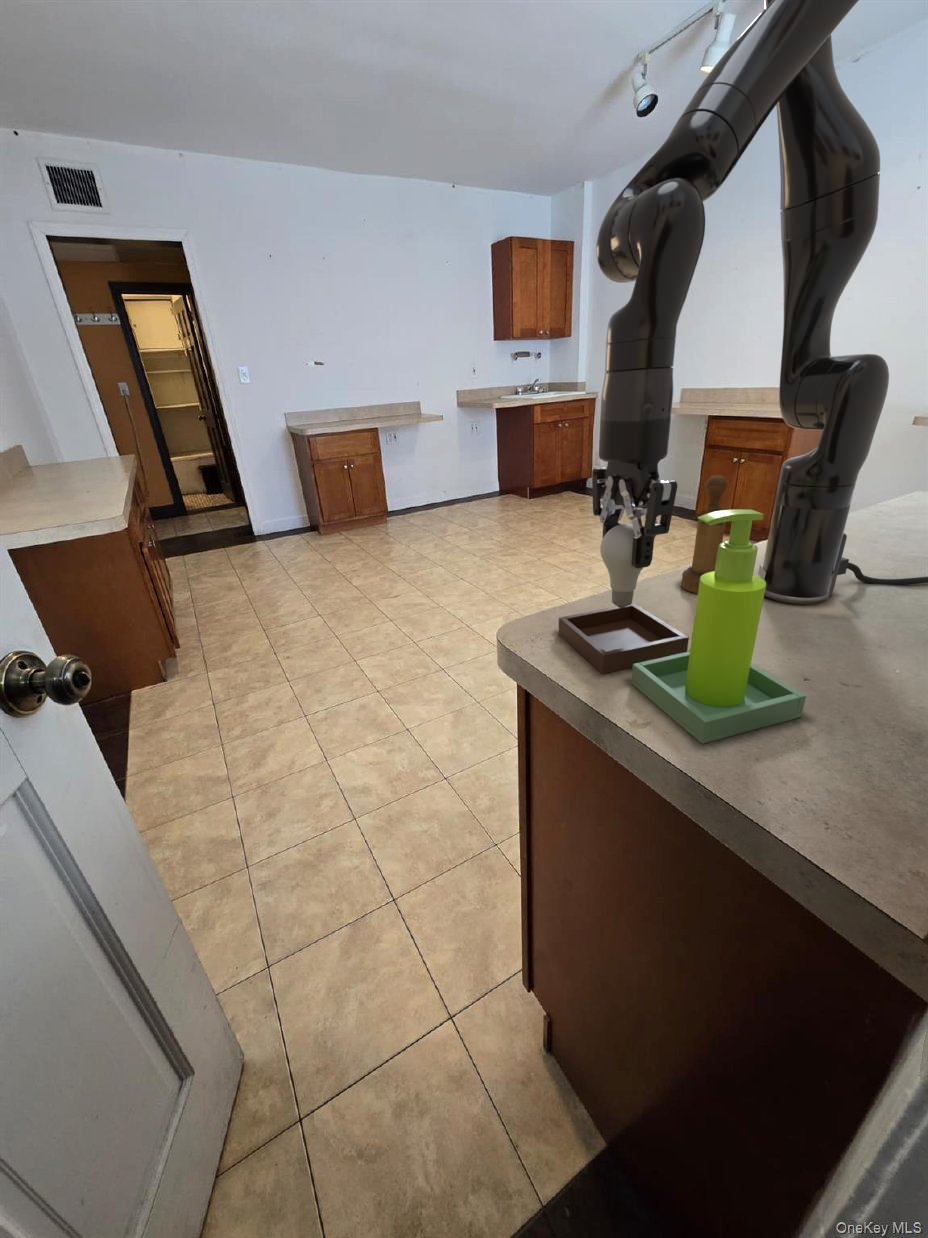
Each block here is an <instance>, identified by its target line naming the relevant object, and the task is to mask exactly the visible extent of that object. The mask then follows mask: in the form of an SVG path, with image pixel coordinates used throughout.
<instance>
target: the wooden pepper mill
mask: <svg viewBox="0 0 928 1238" xmlns="http://www.w3.org/2000/svg"><path fill="white" fill-rule="evenodd" d="M727 489H728V480H727V479H726V477H725V476H723V475H711V476H710V477H708V479H707V480H706V481H705V485H704V490H705V491H706V494H707V496H708V502H707V504H706V505H705V508H704V509H705V514H708V513H711V512H716V511H721V510H722V507H723V506H722V505H721V504H720V501H721V497H722V496H723V495H724V493H725V492H726V490H727ZM726 523H727V522H722V523H718V524H715V525H711V526H710V525H708V524H706V523H703V522H701V521H700V520H699V519H698V520H697V524H696V532H695V533H696V534H695V542H694V549H693V556H692V561H691V566H689V567H688V568H687V569H685V570H683V572H682V575H681V581H680V584H681V585H680V586H681V588H682V589H683V590H685V591H686V592H687V591H688V592H690V593H693V594H698V589H699V582H700V577H701V576H702V575H703V574H705V573H708V572H713V571H715V566H716V560H717V553H718V547H719V544H721V543H723V542H724V541H723V540H724V536H725V535H724V534H725V530H726V525H727V524H726Z"/></svg>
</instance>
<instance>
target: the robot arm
mask: <svg viewBox="0 0 928 1238" xmlns="http://www.w3.org/2000/svg"><path fill="white" fill-rule="evenodd" d="M859 1H860V0H764V9H763V10H762V11H761V12H760V13H759V14H758V15H757V17H756V18H755V19H754V20H753V21H752V22H751V23H750V25H749V26H748V27H746V29H745V30H744V31H743V32H742V34H741V35H740V36H739V37H738V38H737V39H736V40H735V41H734V42H733V44H732V45H731V46H730V47H729V48H728V49H727V51H726V52H725V53H724V54H723V55H722V57H720V59H719V60H718V61H717V63H716V64H715V65H714V67H713V68H712V69H711V71H710V72H709V73H708V74H707V76H706V77H705V79H704V80H703V81H702V83H701V84H700V86H699V87H698V89H697V90H696V91H695V93H694V94H693V96H692V97H691V99H690V101H689V102H688V104H687V105H686V106H685V108H684V110H683V112H682V113H681V115H680V117H678V120H677V121H676V123H675V125H674V126H673V127H672V129H671V131H670V132H669V134H668V136H667V138H666V140H665V141H664V142H663V143H662V145H661V146H660V147H659V148H658V149H657V150H656V151H655V152H654V154H653V155H652V156H650V158H649V159H648V160H647V161H646V162H645V163H644V165H643V166H642V167H641V168H640V169H639V170H638V171H637V173H636V174H635V175H634V176H633V177H632V178H631V180H629V182H628V183H627V184H626V186H624V188H623V189H622V190H621V192H620V193H619V194H618V195H617V196H616V198H615V199H614V200H613V202H612V203H611V204H610V207H609V208H608V210H607V212H606V213H605V215H604V217H603V219H602V220H601V224H600V227H599V229H598V234H597V237H596V244H595V255H596V260H597V261H596V262H597V264H598V267H599V270H600V272H602V274H603V275H604V277H606V278H607V279H609V280H610V281H612V282H614V283H615V282H616V283H619V284H621V283H622V284H626V283H627V284H628V283H632V282H634V285H633V289H632V293H631V295H630V298H629V300H628V301H627V302H626V303H625V305H624V306H622V307H621V308H619V309H617V310H616V311H615V312H614V313H613V314H612V315H611V316H610V317H609V320H608V323H607V329H606V338H605V339H606V340H605V359H604V375H603V384H602V389H601V396H600V413H599V415H600V417H599V418H600V420H599V437H598V438H599V440H598V459H600V460H601V461H602V462H606V463H607V465H606V466H602V467H597V468H595V467H594V468H593V469H592V470H591V481H592V483H591V484H592V485H591V486H592V488H591V489H592V512H593V513H592V514H593V516H594V517H597V516H598V517H599V521H600V523H601V524H602V536H601V537H602V539H603V537H604V536H605V535H606V533H607V532H608V531H609V530H610V529H612V528H613V527H615V526H617V525H620V524H622V523H621V520H622V518H623V515H624V513H625V514H626V517H627V519H628V520H630V521H631V524H632V525H633V530H634V535H635V537H634V538H633V551H632V566H633V567H635V568H643V569H644V568H649V567H650V566H651V564H652V563H653V562H652V561H653V556H654V545H655V538H656V537H657V536H660V535H665V534H668V533H669V531H670V527H671V522H672V516H673V513H674V512H673V511H674V506H675V501H676V496H677V491H678V482H677V481H676V480H663V479H661V478H660V473H659V463H660V462H661V460H663V459H665V458H666V457H667V455H668V454H669V453H668V452H669V444H670V443H669V441H670V431H671V421H672V412H673V401H674V362H675V352H676V344H677V343H676V342H677V340H676V339H677V334H678V333H677V332H678V331H677V330H678V323H679V320H680V317H681V314H682V311H683V308H684V306H685V302H686V300H687V298H688V293H689V290H690V287H691V284H692V282H693V278H694V274H695V272H696V269H697V265H698V263H699V260H700V256H701V253H702V249H703V244H704V239H705V235H706V210H705V204H704V202H706V200H708V199H710V198H711V197H712V196H713V195H715V194H716V193H717V192H718V191H719V189H721V187H722V186H723V185H724V184H725V182H726V181H727V179H728V178H729V177H730V175H731V173H732V172H733V171H734V169H735V168H736V166H737V165H738V163H739V161H740V160H741V158H742V157H743V155H744V154H745V152H746V151H747V149H748V148H749V146H750V144H751V143H752V142H753V140H754V139H755V137H756V135H757V134H758V132H759V131H760V129H761V128H762V126H763V124H764V123H765V121H766V120H767V118H768V117H769V116H770V114H771V113H772V111H773V109H774V108H775V107H776V117H777V134H778V135H777V136H778V150H779V151H778V153H779V154H778V155H779V176H780V177H779V178H780V193H779V194H780V198H779V199H780V201H779V202H780V203H779V209H780V210H781V211H779V212H780V214H779V215H780V240H781V254H782V257H781V258H782V272H783V273H782V275H783V276H782V277H783V329H782V345H781V359H780V371H779V372H780V374H779V389H778V394H779V395H778V396H779V397H778V400H779V401H778V403H779V409H780V414H781V418H782V419H783V421H784V423H785V424H786V425H787V426H788V427H790V428H791V429H792V428H793V429H796V430H803V431H817V432H818V431H819V432H820V431H821V435H820V438H819V441H818V443H817V445H816V447H815V448H814V449H812V450H811V451H808V452H807V453H805V454H801V455H798V456H793V457H790V458H787V459H786V460H785V461H784V462H783V463H782V465H781V468H780V471H779V477H778V482H777V488H776V493H775V494H776V495H775V499H774V505H773V509H772V514H771V521H770V526H769V531H768V536H767V541H766V548H765V551H764V552H765V553H764V558H763V563H762V565H761V564H759V566H758V571H757V572H758V576H759V577H760V578H762V579H763V580H764V581H765V582H766V588H765V594H764V597H765V598H768V599H771V600H773V601H777V602H781V603H785V604H786V603H787V604H792V605H793V604H794V605H815V604H816V605H817V604H821V603H824V602H826V601H827V600H828V599H829V597H830V596H832V595H833V594H834V590H835V585H836V582H837V578H838V576H841V575H845V574H846V573H847V570H849V571H852V573H853V574H854V576H855V578H856V579H857V580H858V581H860V582H863V583H867V584H872V585H887V586H888V585H890V586H903V585H916V584H917V585H918V584H927V583H928V576H919V577H905V578H876V577H872V576H871V577H870V576H868V575H865V574H863V572H862V570H861V568H860V567H859V566H858V565H856V564H855V563H852V562H850V559H849V558H846V557H843V554H844V551H845V547H846V542H847V539H848V535H847V534H846V533H845V529H846V526H847V521H848V516H849V513H850V509H851V504H852V500H853V497H854V493H855V487H856V485H857V480H858V477H859V474H860V472H861V470H862V468H863V466H864V464H865V462H866V460H867V459H868V456H869V453H870V451H871V446H872V443H873V440H874V436H875V433H876V430H877V426H878V424H879V421H880V418H881V415H882V412H883V408H884V405H885V403H886V402H885V401H886V400H887V399H886V398H887V394H888V390H889V385H890V373H889V372H890V371H889V366H888V364H887V363H888V362H886V360H885V358H884V357H882V356H881V355H879V354H874V353H860V354H845V355H831V354H832V353H831V336H832V335H831V334H832V325H833V318H834V314H835V311H836V309H837V305H838V303H839V300H840V299H841V296H842V294H843V292H844V290H845V288H846V287H847V285H848V283H849V282H850V280H851V278H852V276H853V275H854V273H855V271H856V269H857V267H858V266H859V264H860V262H861V260H862V258H863V257H864V255H865V252H866V251H867V249H868V247H869V245H870V243H871V240H872V238H873V236H874V233H875V230H876V227H877V224H878V215H879V205H880V204H879V202H880V201H879V200H880V182H881V181H880V179H881V173H880V171H881V153H880V148H879V144H878V143H877V139H876V137H875V135H874V134H873V132H872V130H871V129H870V127H869V125H868V124H867V122H866V121H865V119H864V118H863V116H862V115H861V114H860V112H859V110H857V108H856V107H855V105H854V104H853V103H852V102H851V100H850V99H849V97H848V96H847V94H846V93H845V91H844V90H843V87H842V85H841V83H840V81H839V77H838V76H837V72H836V68H835V61H834V52H833V51H834V50H833V41H832V33H833V32H834V30H836V29H837V28H838V26H839V25H840V23H841V22H842V21H843V20H844V19H845V18H846V16H847V15H848V14H849V13H850V12H851V11H852V9H853V8H854V7H855V6H856V4H857V3H858V2H859ZM645 506H647V508H644V507H645ZM659 516H660V518H659V523H658V520H657V517H659ZM642 518H645V520H644V526H643V520H642Z"/></svg>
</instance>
